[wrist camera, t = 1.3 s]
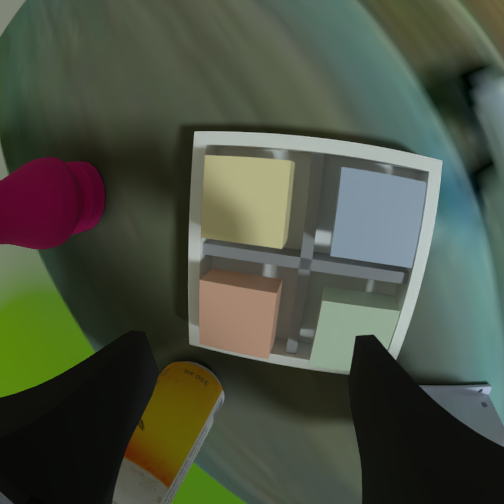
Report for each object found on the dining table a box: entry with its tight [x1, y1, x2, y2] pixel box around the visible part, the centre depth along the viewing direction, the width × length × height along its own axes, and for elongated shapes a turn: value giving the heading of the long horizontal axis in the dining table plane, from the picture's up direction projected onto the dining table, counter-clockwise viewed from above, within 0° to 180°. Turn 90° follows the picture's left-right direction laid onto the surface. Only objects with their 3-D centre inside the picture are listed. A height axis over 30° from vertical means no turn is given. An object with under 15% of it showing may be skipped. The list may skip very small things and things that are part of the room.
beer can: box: [112, 361, 224, 504], centre depth 17 cm, size 6×6×15 cm
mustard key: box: [201, 155, 295, 249], centre depth 16 cm, size 4×4×2 cm
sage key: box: [308, 286, 400, 372], centre depth 16 cm, size 4×4×2 cm
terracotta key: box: [199, 268, 283, 359], centre depth 18 cm, size 4×4×2 cm
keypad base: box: [188, 131, 442, 375], centre depth 18 cm, size 14×14×2 cm
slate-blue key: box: [330, 167, 426, 268], centre depth 14 cm, size 4×4×2 cm
